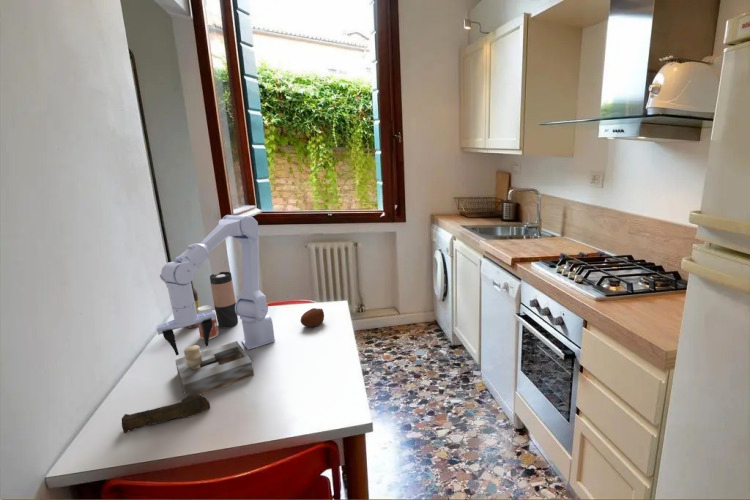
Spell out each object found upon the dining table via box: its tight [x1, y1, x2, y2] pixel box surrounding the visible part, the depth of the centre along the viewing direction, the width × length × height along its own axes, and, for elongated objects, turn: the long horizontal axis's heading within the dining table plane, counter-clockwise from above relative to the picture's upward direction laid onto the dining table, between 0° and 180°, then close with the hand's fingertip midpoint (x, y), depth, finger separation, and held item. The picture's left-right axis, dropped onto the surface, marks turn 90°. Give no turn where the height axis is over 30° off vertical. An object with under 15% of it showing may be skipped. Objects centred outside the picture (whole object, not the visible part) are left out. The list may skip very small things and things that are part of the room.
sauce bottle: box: [185, 280, 201, 329], centre depth 144 cm, size 6×6×20 cm
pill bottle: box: [197, 304, 219, 340], centre depth 135 cm, size 6×6×11 cm
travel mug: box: [209, 271, 239, 329], centre depth 143 cm, size 8×8×20 cm
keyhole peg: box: [183, 344, 202, 370], centre depth 108 cm, size 5×5×9 cm
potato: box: [300, 307, 325, 328], centre depth 140 cm, size 7×9×6 cm
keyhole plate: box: [175, 340, 255, 398], centre depth 111 cm, size 18×16×4 cm
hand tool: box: [121, 394, 211, 434], centre depth 93 cm, size 19×4×5 cm, turn 108°
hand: (192, 349), depth 107 cm, fingers open, 7 cm apart
